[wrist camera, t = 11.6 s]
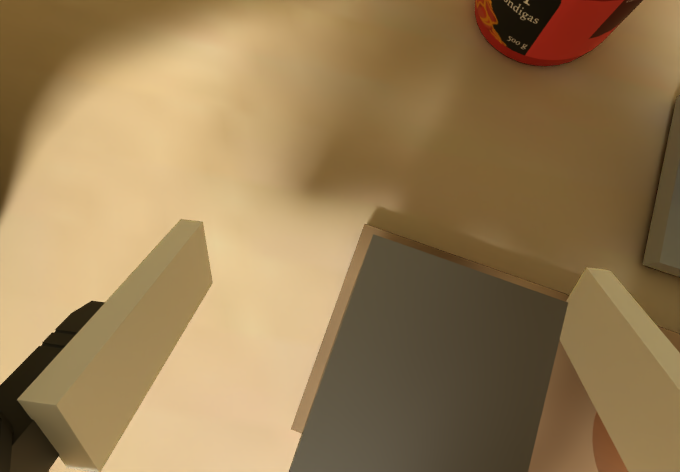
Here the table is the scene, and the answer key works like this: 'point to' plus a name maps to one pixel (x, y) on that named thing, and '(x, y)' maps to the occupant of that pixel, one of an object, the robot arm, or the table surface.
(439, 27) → the table surface
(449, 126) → the table surface
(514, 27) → the canned food
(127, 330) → the robot arm
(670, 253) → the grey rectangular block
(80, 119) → the table surface
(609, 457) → the peach capsule shape
